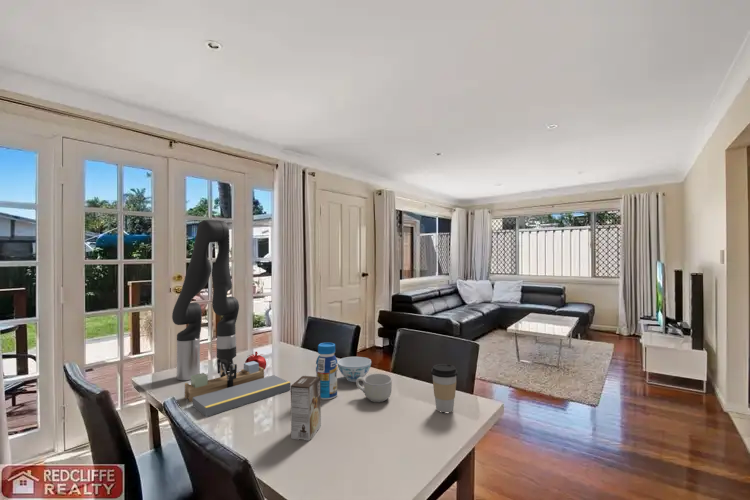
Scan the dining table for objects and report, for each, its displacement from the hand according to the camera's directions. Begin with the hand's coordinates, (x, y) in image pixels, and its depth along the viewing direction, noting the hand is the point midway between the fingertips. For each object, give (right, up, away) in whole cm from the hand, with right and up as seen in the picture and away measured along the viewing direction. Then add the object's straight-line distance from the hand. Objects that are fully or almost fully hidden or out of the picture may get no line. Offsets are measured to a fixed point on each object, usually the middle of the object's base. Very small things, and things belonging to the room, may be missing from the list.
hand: (226, 386), depth 146 cm
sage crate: (-8, +4, -8) cm, 11 cm away
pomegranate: (+4, -1, +22) cm, 23 cm away
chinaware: (+52, -1, +11) cm, 53 cm away
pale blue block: (+7, +4, +8) cm, 11 cm away
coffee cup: (+85, 0, -21) cm, 88 cm away
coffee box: (+40, -1, -36) cm, 54 cm away
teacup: (+61, -1, -10) cm, 61 cm away
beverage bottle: (+42, -1, -8) cm, 43 cm away
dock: (+10, -1, -9) cm, 14 cm away
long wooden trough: (0, -1, 0) cm, 1 cm away
